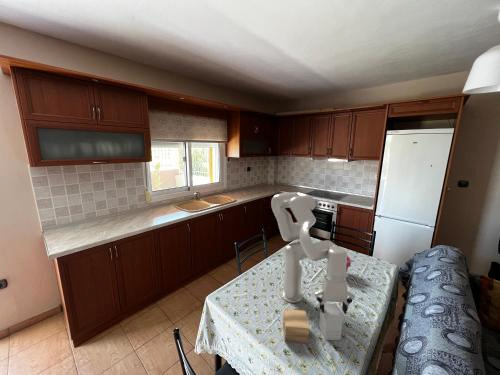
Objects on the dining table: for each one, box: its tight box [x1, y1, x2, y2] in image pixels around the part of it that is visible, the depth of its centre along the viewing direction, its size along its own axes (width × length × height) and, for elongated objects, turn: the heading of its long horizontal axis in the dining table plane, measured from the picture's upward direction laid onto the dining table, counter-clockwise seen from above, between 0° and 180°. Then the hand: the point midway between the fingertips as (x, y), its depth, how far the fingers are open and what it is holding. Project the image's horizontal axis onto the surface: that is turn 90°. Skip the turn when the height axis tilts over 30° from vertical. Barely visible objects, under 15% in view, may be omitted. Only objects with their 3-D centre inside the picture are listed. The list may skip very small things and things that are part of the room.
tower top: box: [283, 308, 310, 336], centre depth 94 cm, size 10×10×4 cm
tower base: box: [282, 316, 310, 345], centre depth 95 cm, size 10×10×4 cm
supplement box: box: [318, 302, 344, 341], centre depth 94 cm, size 7×7×13 cm
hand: (333, 311), depth 93 cm, fingers open, 9 cm apart
